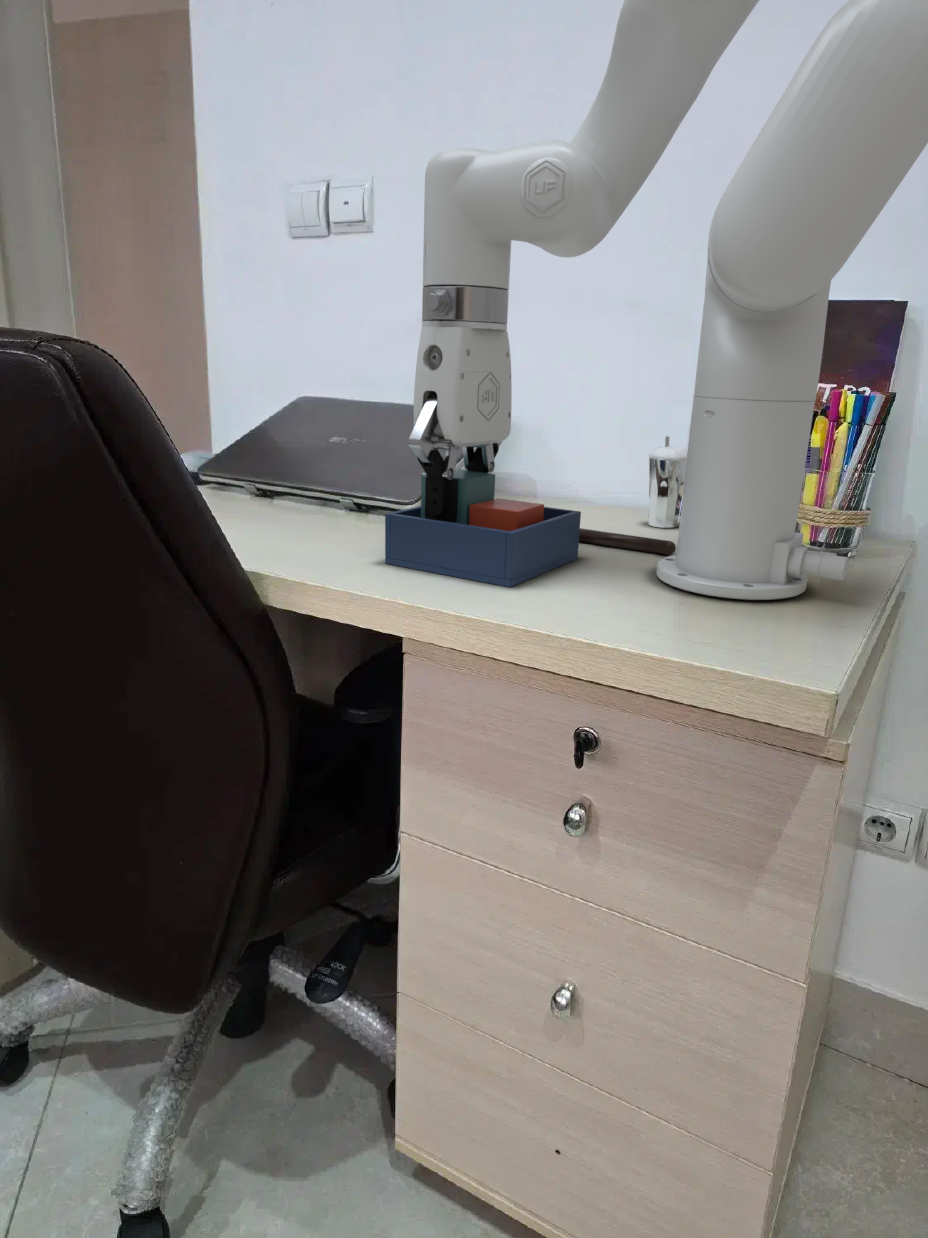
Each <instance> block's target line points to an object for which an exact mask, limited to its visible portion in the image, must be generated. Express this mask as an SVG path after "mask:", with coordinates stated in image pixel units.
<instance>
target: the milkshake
mask: <svg viewBox="0 0 928 1238" xmlns="http://www.w3.org/2000/svg"><path fill="white" fill-rule="evenodd" d="M664 440H665V441H664V447H661V446H660V447H656V448H654V449H653V450H652V451H651V452H650V453H649V455H648V456H649V457H648V474H649V475H648V478H649V481H648V483H649V484H648V485H649V486H648V489H649V490H648V494H649V495H648V525H649V526H650V527H654V528H659V529H660V528H661V529H673V528H676V527H678V522H679V518H680V512H681V507H682V498H683V488H684V479H685V470H686V461H687V452H688V449H686V448H685V447H673V446H670V436H665V439H664Z"/></svg>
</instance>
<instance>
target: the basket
mask: <svg viewBox="0 0 928 1238" xmlns="http://www.w3.org/2000/svg"><path fill="white" fill-rule="evenodd" d="M581 515H582V511H579V510H572V509H564V508H558V507H557V508H556V507H550V506H544V518H543V521H542V522H539V523H536V524H532V525H529V526H526V527H523V528H520V529H516V530H513V531H505V530H498V529H492V528H485V527H479V526H472V525H465V524H459V523H452V522H446V521H439V520H432V519H426V518H421V505H419V506H413V507H410V508H405V509H401V510H396V511H392V512H386V513H384V535H385V536H384V556H385V557H384V563H385V564H387V565H393V566H397V567H402V568H408V569H413V570H419V571H423V572H428V573H433V574H439V575H445V576H449V577H455V578H459V579H466V580H470V581H476V582H481V583H485V584H491V585H497V586H502V587H508V588H511V587H514V586H516V585H520V584H521V583H524V582H526V581H528V580H531V579H533V578H536V577H537V576H541V575H542V574H545V573H547V572H550V571H553V570H554V569H557V568H559V567H561V566H564V565H566V564H568V563H571V562H573V561H576V560H578V558H579V543H580V542H579V532H580V528H581Z"/></svg>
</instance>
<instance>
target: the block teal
mask: <svg viewBox="0 0 928 1238" xmlns="http://www.w3.org/2000/svg"><path fill="white" fill-rule="evenodd" d="M464 470H465V469H456V468H455V472H454V477H453V479H457V480H458V498H457V521H456V522H455V523H459V524H465V525H469V513H470V505H472V504H476V503H481V502H485V501H489V500H493V499H495V493H496V492H495V489H496V474H495V473H491V474H489V472H488V473H481V472H473V471H464ZM420 478H421V480H420V481H421V484H420V506H421V518H425V481H426V477H424V476H423V475H422V474H421V477H420Z"/></svg>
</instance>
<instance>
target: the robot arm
mask: <svg viewBox="0 0 928 1238" xmlns="http://www.w3.org/2000/svg"><path fill="white" fill-rule="evenodd" d="M759 2H760V0H623V3H622V6H621V8H620V12H619V16H618V19H617V23H616V28H615V32H614V37H613V43H612V48H611V53H610V56H609V61H608V64H607V67H606V71H605V73H604V76H603V79H602V82H601V85H600V87H599V90H598V91H597V93H596V97H595V99H594V101H593V103H592V105H591V106H590V109H589V111H588V113H587V114H586V116H585V118H584V120H583V121H582V123H581V125H580V127H579V128H578V130H577V131H576V133H575V134H574V137H573V138H572V139H571V141H570V142H569V141H565V140H560V139H548V140H540V141H535V142H531V143H526V144H521V145H517V146H512V147H507V148H502V149H497V150H488V149H481V148H452V149H446V150H443V151H440V152H437V153H436V154H434V155H433V156H432V157H431V158H430V159H429V161H428V162H427V165H426V168H425V173H424V199H423V200H424V201H423V204H424V205H423V258H422V264H423V265H422V297H421V298H422V300H421V301H422V302H421V331H420V336H419V342H418V350H417V355H416V356H417V357H416V363H415V364H416V365H415V376H414V387H413V388H414V389H413V390H414V391H413V428H412V431H411V433H410V434H409V437H408V438H407V445H408V447H409V448H410V450H411V451H412V453H413V454H414V455H415V456H416V458H417V461H418V463H419V464H420V466H421V475H423V476H424V477H426V481H425V518H426V519H432V520H439V521H446V522H452V523H455V522H456V521H457V498H458V480H457V479H453V477H454V472H455V469H456V466H457V461H458V456H459V450H460V448H461V450H462V457H463V466H464V469H463V470H464V471H473V472H481V473H489V474H493V472H494V471H495V468H496V463H495V458H496V456H497V455H498V452H499V449H500V446H501V445H502V443H503V442H504V441H505V440H507V439H508V437H509V436H510V434H511V430H512V400H513V399H512V396H513V395H512V359H511V358H512V357H511V346H510V339H509V332H508V313H509V296H510V295H509V293H510V292H509V290H510V278H511V277H510V274H511V254H512V241H516V242H522V243H528V244H529V245H532V246H536V247H538V248H539V249H542V250H543V251H545V252H546V253H548V254H550V255H553V256H555V257H559V258H576V257H580V256H582V255H585V254H586V253H588V252H590V251H591V250H593V249H594V248H595V247H596V246H598V245H599V244H600V243H601V242H602V241H603V240H604V239H605V238H606V237H607V235H608V234H609V233H610V231H611V230H612V229H613V227H614V226H615V225H616V224H617V222H618V220H619V219H620V218H621V216H622V215H623V213H624V212H625V211H626V209H627V208H628V206H629V205H630V204H631V202H632V200H634V198H635V196H636V195H637V194H638V192H639V191H640V190H641V188H642V187H643V185H644V183H645V182H646V181H647V179H648V178H649V176H650V175H651V174H652V171H653V170H654V169H655V167H656V165H657V164H658V162H659V161H660V159H661V158H662V156H663V154H664V152H665V151H666V149H667V147H668V146H669V144H670V143H671V141H672V139H673V137H674V135H675V134H676V132H677V131H678V129H679V127H680V126H681V124H682V122H683V121H684V119H685V117H686V116H687V114H688V113H689V111H690V110H691V108H692V107H693V105H694V103H695V102H696V101H697V99H698V97H699V96H700V94H701V92H702V90H703V88H704V86H705V85H706V82H707V81H708V80H709V77H710V75H711V73H712V71H713V69H714V68H715V67H716V65H717V63H718V62H719V60H720V58H721V57H722V55H723V54H724V53H725V51H726V50H727V48H728V47H729V46H730V44H731V42H732V41H733V40H734V38H735V36H736V35H737V34H738V32H739V31H740V29H741V28H742V26H743V25H744V24H745V22H746V21H747V19H748V17H749V16H750V15H751V13H752V12H753V11H754V9H755V8H756V7H757V4H758V3H759ZM927 145H928V0H848V1H847V2H846V3H844V4H843V6H841V7H840V8H839V9H838V10H837V11H836V12H835V13H834V14H833V16H832V17H831V18H830V19H829V20H828V21H827V23H826V24H825V25H824V27H823V28H822V29H821V31H820V33H819V34H818V35H817V37H816V39H815V40H814V42H813V43H812V44H811V46H810V48H809V49H808V51H807V53H806V54H805V56H804V58H803V60H802V61H801V63H800V64H799V66H798V68H797V70H796V71H795V73H794V75H793V76H792V78H791V79H790V81H789V83H788V85H787V86H786V88H785V89H784V91H783V93H782V94H781V96H780V97H779V100H778V101H777V103H776V104H775V106H774V107H773V110H772V111H771V112H770V115H769V116H768V117H767V119H766V121H765V123H764V125H763V126H762V128H761V129H760V131H759V133H758V134H757V136H756V138H755V139H754V141H753V143H752V145H751V146H750V147H749V150H748V151H747V153H746V154H745V155H744V158H743V159H742V161H741V163H740V165H739V166H738V168H737V169H736V171H735V172H734V174H733V176H732V177H731V179H730V181H729V183H728V185H727V186H726V188H725V190H724V191H723V193H722V195H721V197H720V199H719V201H718V203H717V205H716V208H715V210H714V211H713V215H712V218H711V222H710V226H709V231H708V243H707V260H706V271H705V286H704V300H703V307H702V317H701V325H700V327H701V328H700V336H699V344H698V346H699V347H698V353H697V362H696V363H697V364H696V372H695V381H694V391H693V396H692V405H691V406H692V407H691V416H690V425H689V433H688V442H687V443H688V444H687V451H688V452H687V461H686V470H685V479H684V488H683V495H682V500H681V506H680V515H679V527H678V536H677V544H676V552H675V554H671V555H667V556H665V557H663V558H661V559H659V560H658V562H657V563H656V574H655V575H656V576H657V577H658V579H659V580H660V581H662V582H663V583H665V584H667V585H669V586H671V587H674V588H677V589H680V590H682V591H686V592H690V593H695V594H699V595H705V596H710V597H717V598H722V599H735V600H748V601H749V600H750V601H770V600H783V599H789V598H793V597H797V596H799V595H801V594H804V593H805V592H806V590H807V587H808V576H807V575H811V576H817V577H819V578H820V579H821V578H822V579H828V580H835V581H841V582H843V581H845V578H846V574H847V569H848V564H849V558H848V556H841V555H838V554H837V552H829V551H824V550H823V551H822V550H820V551H817V550H810V549H809V548H808V546H804V545H803V540H804V533H802V532H796V528H797V521H798V515H799V509H800V503H801V495H802V489H803V481H804V476H805V470H806V462H807V456H808V449H809V442H810V436H811V429H812V423H813V418H814V417H813V416H814V410H815V404H816V400H817V393H818V387H819V380H820V374H821V367H822V359H823V353H824V352H823V351H824V344H825V333H826V325H827V316H828V308H829V307H828V306H829V298H830V290H831V285H832V280H833V279H834V277H835V276H836V275H837V274H838V272H840V271H841V269H842V268H843V267H844V265H845V264H846V263H847V261H848V260H849V258H850V257H851V255H852V254H853V252H854V251H855V250H856V248H857V247H858V246H859V245H860V243H861V241H862V240H863V238H864V237H865V236H866V234H867V232H868V231H869V230H870V228H871V227H872V225H873V224H874V222H875V221H876V220H877V218H878V217H879V215H880V214H881V212H882V211H883V209H884V208H885V206H886V205H887V204H888V202H889V201H890V200H891V198H892V196H893V195H894V193H895V192H896V190H897V189H898V187H899V186H900V185H901V183H902V182H903V180H904V179H905V177H906V176H907V174H908V173H909V171H910V170H911V168H912V167H913V166H914V164H915V163H916V161H917V160H918V158H920V156H921V154H922V152H923V151H924V150H925V148H926V146H927ZM475 448H476V449H475ZM440 451H443V452H445V454H444V458H443V456H442V454H441V452H440Z"/></svg>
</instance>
